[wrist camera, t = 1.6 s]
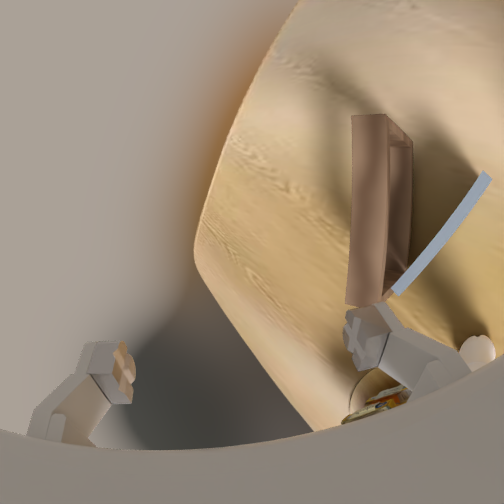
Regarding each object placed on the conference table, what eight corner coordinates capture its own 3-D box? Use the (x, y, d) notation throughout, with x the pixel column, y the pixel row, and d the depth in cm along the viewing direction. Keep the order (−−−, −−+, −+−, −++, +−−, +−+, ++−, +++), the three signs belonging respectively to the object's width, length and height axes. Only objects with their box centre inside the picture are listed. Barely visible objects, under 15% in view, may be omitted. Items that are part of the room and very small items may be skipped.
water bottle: (471, 373, 39) (451, 472, 21) (452, 346, 42) (425, 438, 23) (501, 350, 35) (502, 448, 17) (482, 322, 38) (479, 410, 19)
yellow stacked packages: (339, 370, 58) (297, 412, 46) (451, 348, 42) (437, 401, 30) (365, 452, 56) (331, 499, 43) (463, 444, 39) (446, 503, 27)
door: (485, 184, 34) (492, 179, 25) (414, 276, 45) (398, 296, 36) (478, 178, 35) (482, 170, 26) (408, 269, 46) (390, 288, 37)
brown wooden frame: (412, 141, 42) (385, 114, 29) (405, 278, 47) (376, 311, 34) (388, 140, 45) (351, 115, 32) (383, 274, 50) (344, 303, 37)
